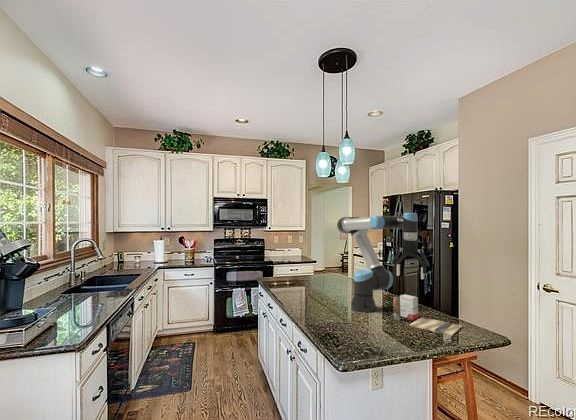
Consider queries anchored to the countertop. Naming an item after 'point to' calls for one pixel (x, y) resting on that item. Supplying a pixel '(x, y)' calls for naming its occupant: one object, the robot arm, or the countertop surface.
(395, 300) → the awl dowel
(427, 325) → the subfloor board
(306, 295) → the countertop surface
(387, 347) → the countertop surface
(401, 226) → the robot arm
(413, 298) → the ink box
